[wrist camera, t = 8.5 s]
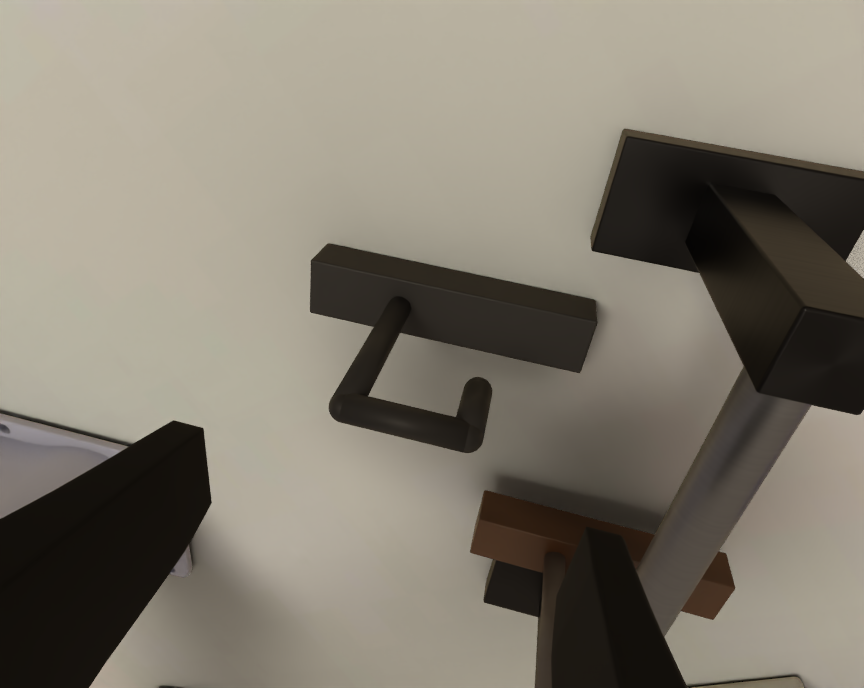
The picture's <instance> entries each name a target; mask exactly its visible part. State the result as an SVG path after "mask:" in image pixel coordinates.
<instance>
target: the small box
mask: <svg viewBox="0 0 864 688" xmlns="http://www.w3.org/2000/svg"><path fill="white" fill-rule="evenodd" d="M692 688H804V686H803V684H802V682H801V680H800V679H799V678H798V677H785V678H776V679H767V680H758V681H748V682H738V683H728V684H720V685H710V686H701V687H692Z"/></svg>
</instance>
